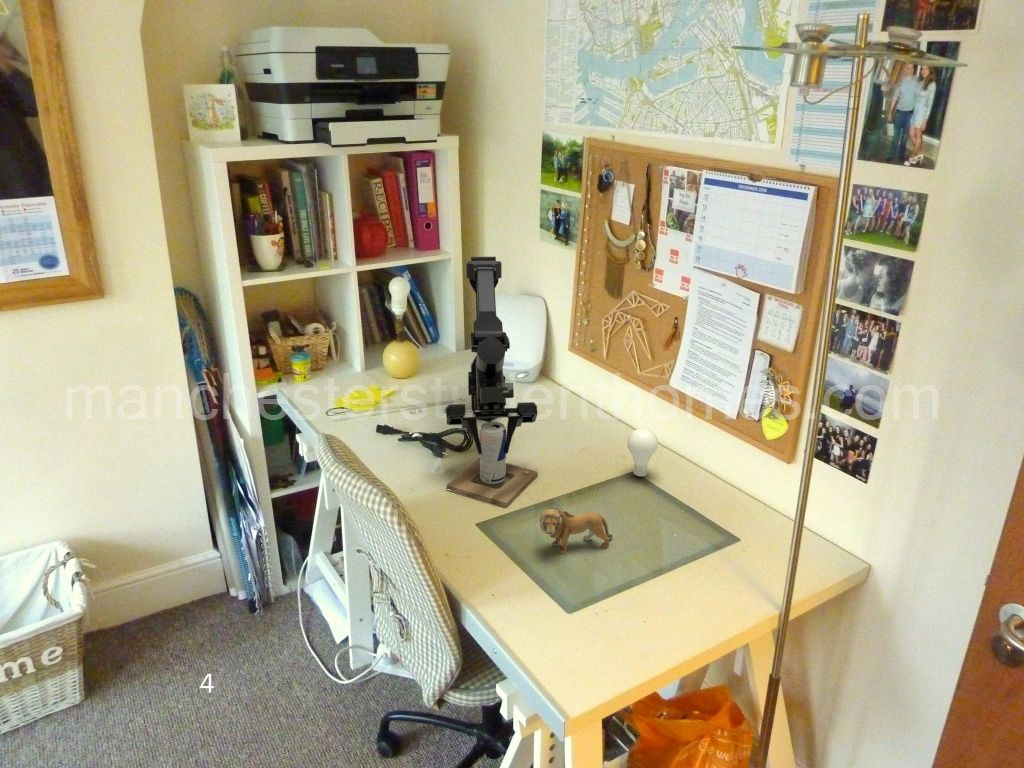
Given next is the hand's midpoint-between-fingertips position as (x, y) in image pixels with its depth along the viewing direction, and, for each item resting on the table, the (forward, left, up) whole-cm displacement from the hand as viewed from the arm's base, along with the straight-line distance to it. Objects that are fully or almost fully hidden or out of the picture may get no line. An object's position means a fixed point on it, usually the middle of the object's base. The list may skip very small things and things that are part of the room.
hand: (493, 453), depth 154 cm
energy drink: (-1, +1, -7) cm, 7 cm away
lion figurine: (+24, -11, -8) cm, 27 cm away
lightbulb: (+25, +19, -8) cm, 33 cm away
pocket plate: (-1, +1, -8) cm, 8 cm away
